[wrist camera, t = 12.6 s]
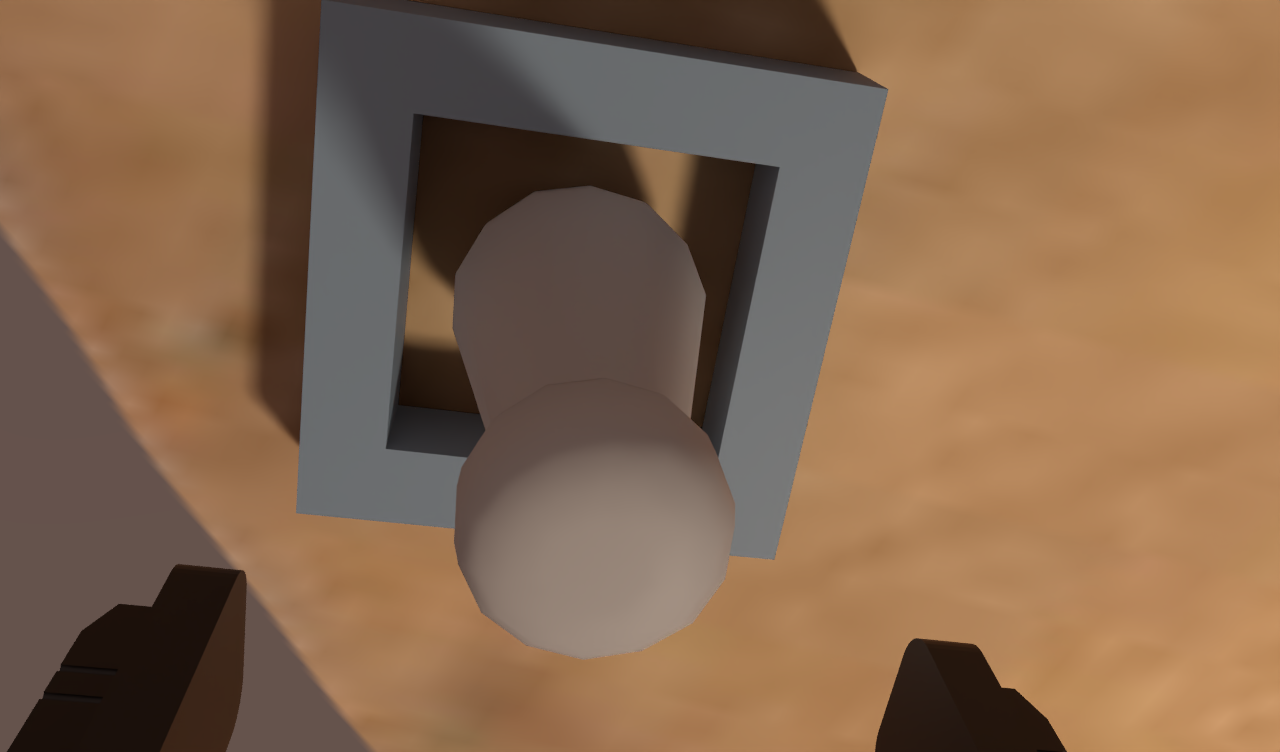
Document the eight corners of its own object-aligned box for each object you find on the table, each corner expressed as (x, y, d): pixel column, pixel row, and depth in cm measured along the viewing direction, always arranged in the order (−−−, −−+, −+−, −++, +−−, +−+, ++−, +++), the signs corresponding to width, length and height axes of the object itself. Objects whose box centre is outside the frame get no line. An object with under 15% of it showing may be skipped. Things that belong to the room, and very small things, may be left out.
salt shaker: (613, 116, 26) (670, 302, 14) (733, 307, 29) (868, 604, 17) (411, 247, 27) (309, 523, 15) (542, 422, 29) (542, 783, 18)
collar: (342, -11, 25) (321, -1, 22) (858, 72, 26) (888, 89, 24) (315, 464, 29) (296, 513, 27) (757, 510, 31) (774, 559, 29)
